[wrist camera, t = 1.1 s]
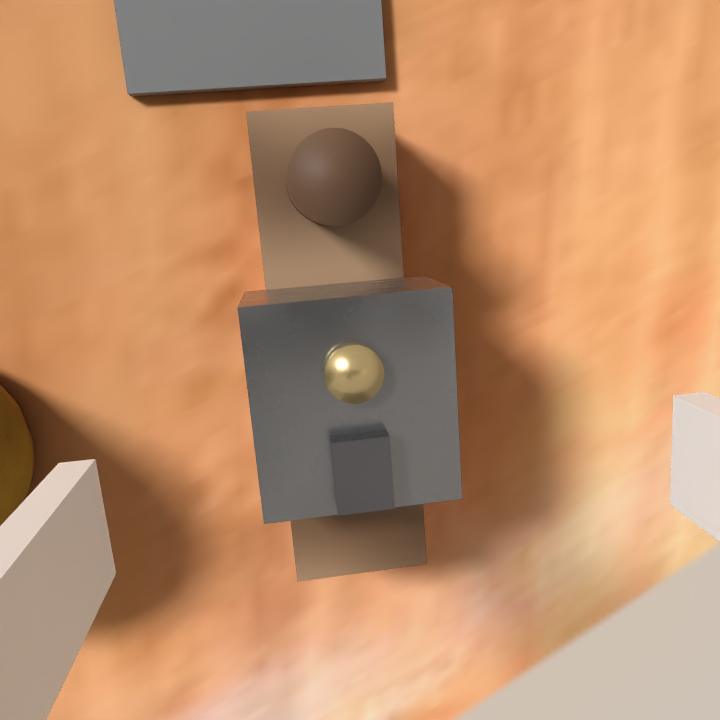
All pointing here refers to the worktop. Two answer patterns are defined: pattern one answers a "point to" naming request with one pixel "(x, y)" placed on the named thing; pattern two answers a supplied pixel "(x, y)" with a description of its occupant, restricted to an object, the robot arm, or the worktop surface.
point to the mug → (13, 456)
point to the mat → (248, 44)
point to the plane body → (334, 277)
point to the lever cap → (352, 396)
